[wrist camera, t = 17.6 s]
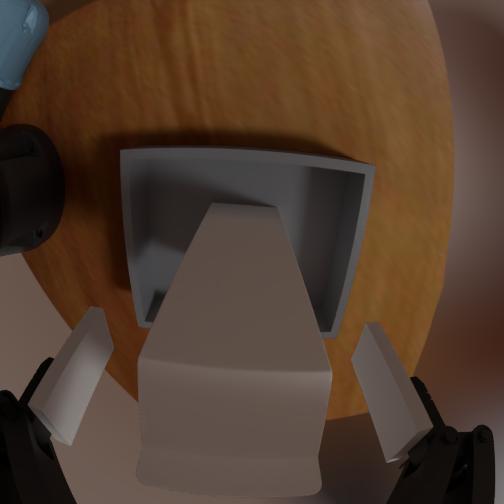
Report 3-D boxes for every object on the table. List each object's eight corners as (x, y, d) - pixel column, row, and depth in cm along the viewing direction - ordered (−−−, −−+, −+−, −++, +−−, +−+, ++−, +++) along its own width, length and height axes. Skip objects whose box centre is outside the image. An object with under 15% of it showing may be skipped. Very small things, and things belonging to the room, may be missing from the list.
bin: (152, 299, 30) (138, 326, 25) (142, 145, 23) (120, 149, 18) (325, 309, 30) (336, 337, 26) (353, 159, 24) (375, 165, 19)
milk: (211, 201, 25) (97, 440, 4) (279, 207, 25) (361, 458, 5) (209, 263, 27) (149, 501, 7) (271, 267, 27) (302, 511, 7)
